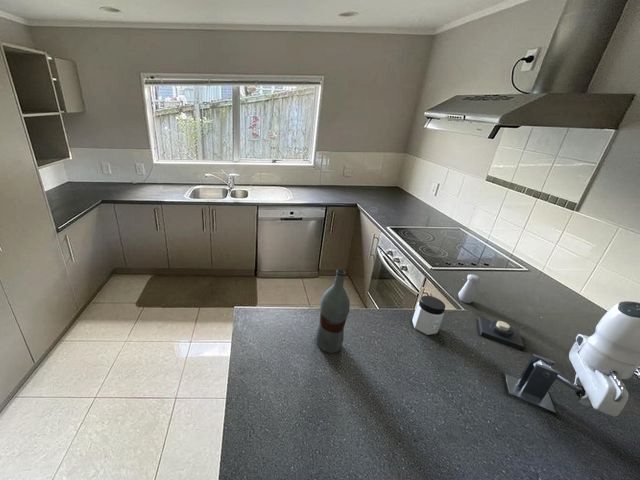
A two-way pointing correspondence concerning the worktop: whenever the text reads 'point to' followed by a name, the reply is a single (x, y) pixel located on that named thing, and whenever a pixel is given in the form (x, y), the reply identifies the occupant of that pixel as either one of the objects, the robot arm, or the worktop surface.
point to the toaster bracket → (534, 383)
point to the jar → (428, 315)
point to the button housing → (500, 334)
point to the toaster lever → (565, 381)
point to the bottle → (333, 315)
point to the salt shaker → (469, 289)
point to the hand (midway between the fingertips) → (580, 396)
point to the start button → (502, 326)
